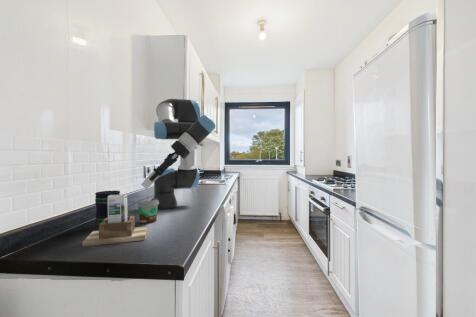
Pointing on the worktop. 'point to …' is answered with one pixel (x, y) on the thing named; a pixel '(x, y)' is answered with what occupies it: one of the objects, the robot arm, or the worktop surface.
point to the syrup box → (117, 208)
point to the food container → (148, 211)
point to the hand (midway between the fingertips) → (145, 184)
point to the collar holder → (116, 233)
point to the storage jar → (102, 205)
